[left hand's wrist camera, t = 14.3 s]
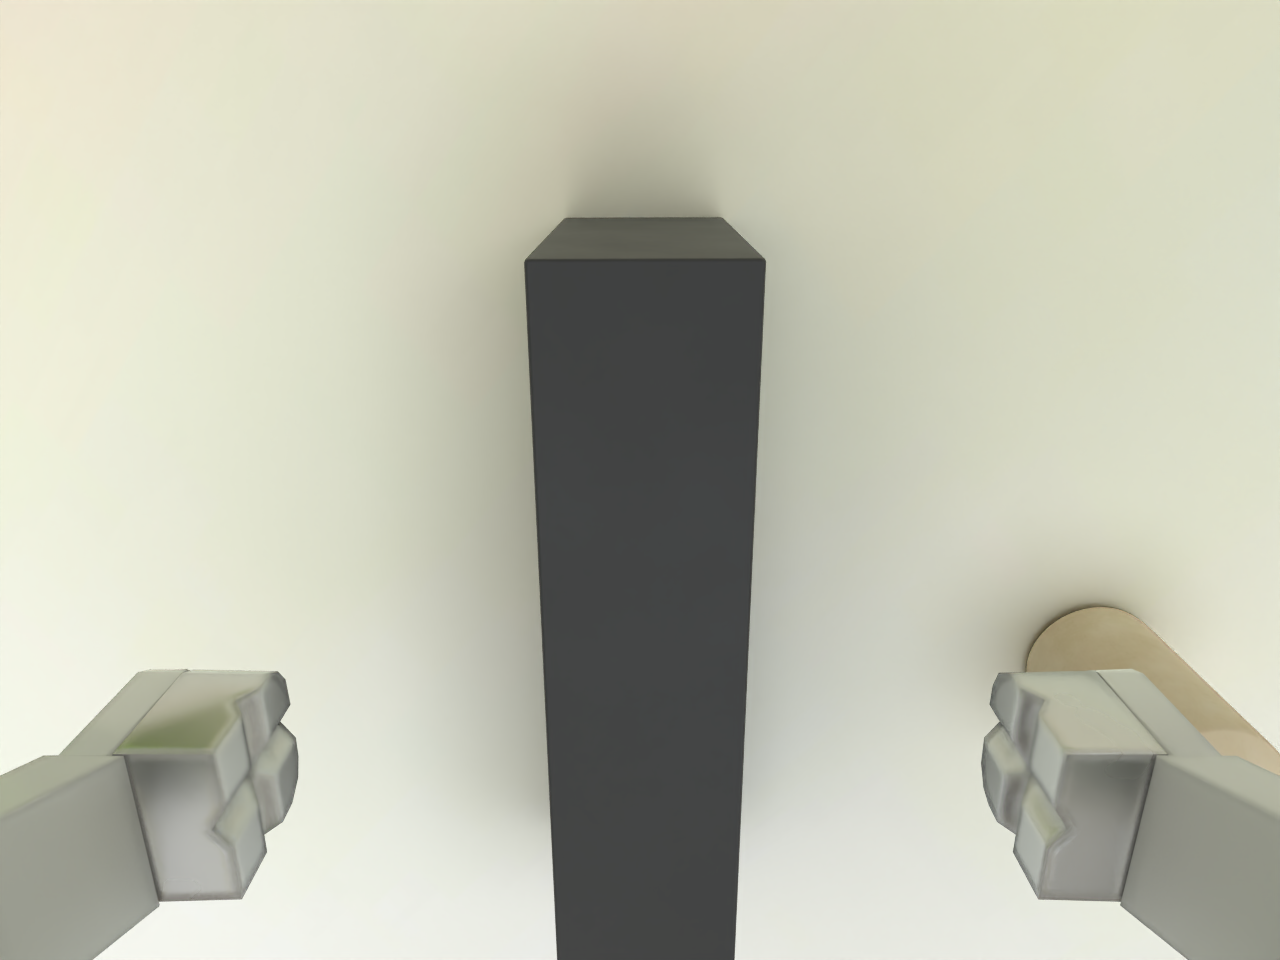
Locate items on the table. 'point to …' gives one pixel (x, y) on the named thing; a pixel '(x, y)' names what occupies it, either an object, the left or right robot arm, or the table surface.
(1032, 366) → the table surface
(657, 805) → the box
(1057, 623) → the candle
